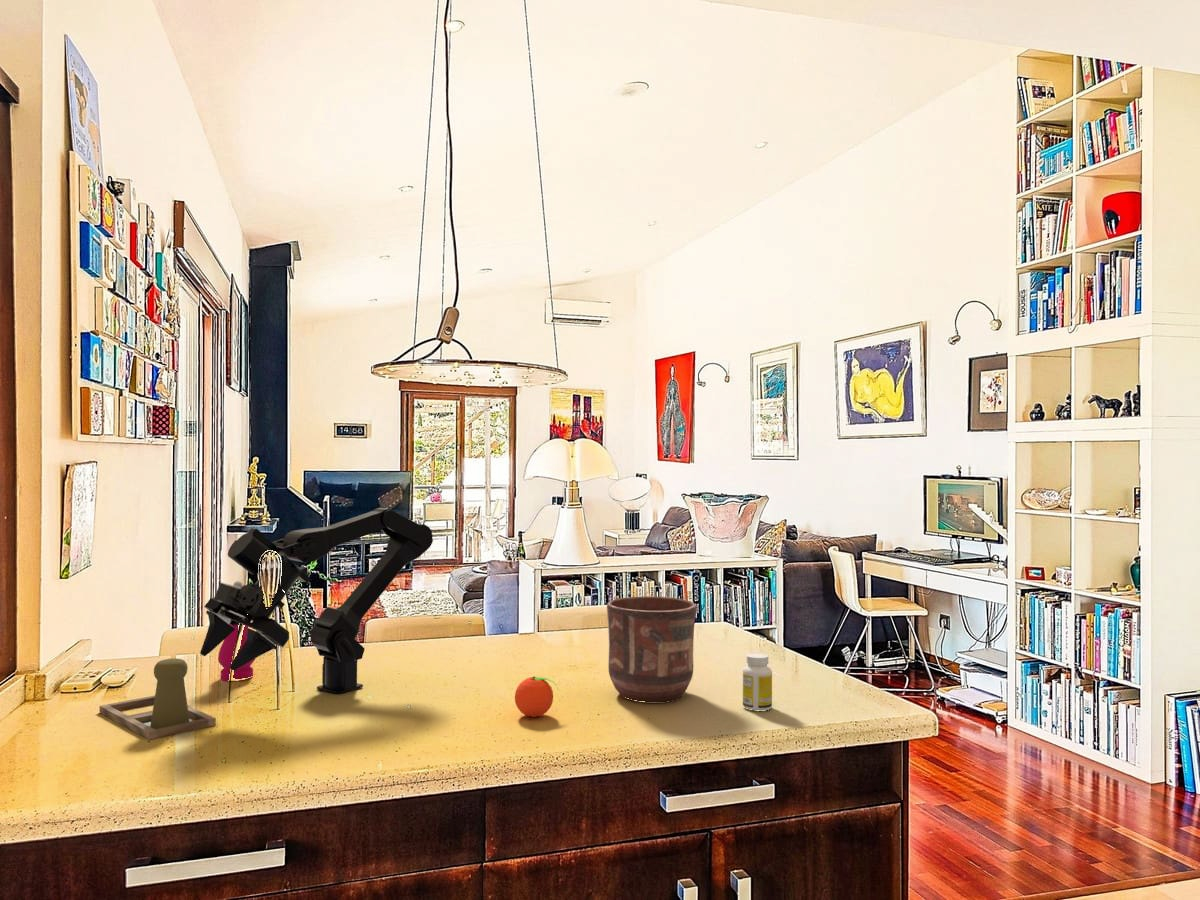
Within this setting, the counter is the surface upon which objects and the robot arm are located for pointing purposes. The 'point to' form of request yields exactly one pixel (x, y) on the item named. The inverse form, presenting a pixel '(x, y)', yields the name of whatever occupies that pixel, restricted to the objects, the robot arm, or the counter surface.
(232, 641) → the pepper mill
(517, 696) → the clementine
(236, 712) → the counter surface
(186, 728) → the brown wooden frame
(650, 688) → the pottery
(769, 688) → the supplement bottle
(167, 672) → the cork
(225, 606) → the robot arm
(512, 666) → the counter surface
